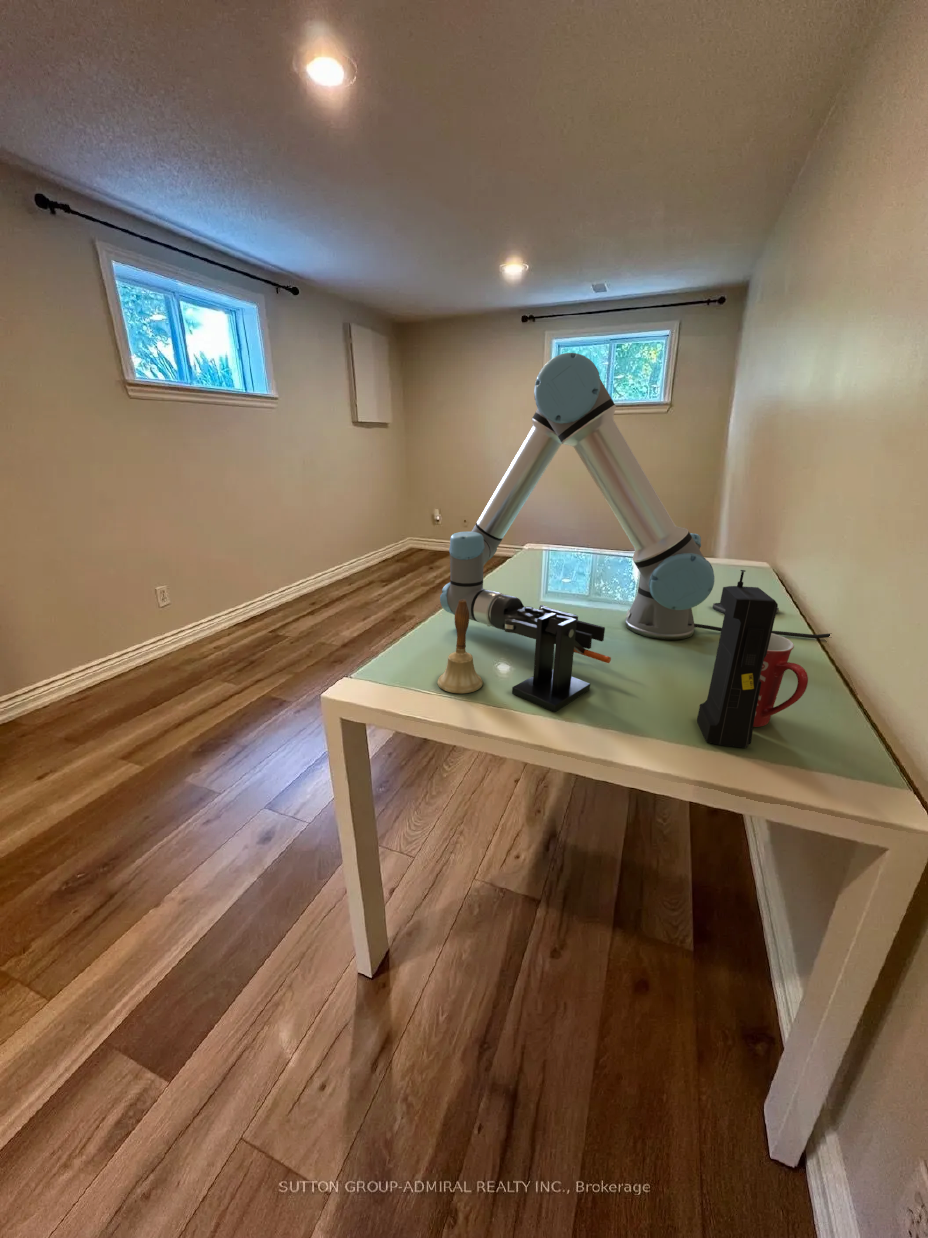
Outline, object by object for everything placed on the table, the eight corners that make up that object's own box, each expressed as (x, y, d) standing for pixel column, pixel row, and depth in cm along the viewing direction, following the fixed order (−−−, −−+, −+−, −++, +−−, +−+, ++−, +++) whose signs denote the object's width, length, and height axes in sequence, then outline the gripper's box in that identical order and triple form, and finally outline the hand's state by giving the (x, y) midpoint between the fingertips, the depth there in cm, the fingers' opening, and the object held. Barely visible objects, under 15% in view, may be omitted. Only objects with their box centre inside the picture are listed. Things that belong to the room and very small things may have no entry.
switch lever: (556, 649, 96) (561, 638, 96) (607, 667, 88) (613, 655, 89) (523, 623, 85) (529, 611, 85) (578, 641, 78) (584, 627, 78)
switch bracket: (548, 673, 94) (553, 605, 89) (589, 690, 88) (597, 617, 83) (511, 693, 86) (515, 620, 81) (554, 712, 80) (561, 634, 76)
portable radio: (753, 754, 70) (796, 586, 62) (708, 748, 71) (744, 583, 63) (736, 724, 77) (772, 570, 69) (695, 720, 78) (726, 568, 70)
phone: (711, 603, 132) (757, 599, 135) (710, 607, 132) (756, 603, 135) (732, 612, 124) (781, 608, 128) (732, 617, 125) (780, 612, 128)
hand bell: (472, 670, 95) (474, 591, 89) (489, 689, 87) (492, 604, 82) (431, 676, 92) (430, 595, 86) (445, 697, 85) (445, 610, 79)
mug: (699, 706, 83) (714, 631, 78) (741, 698, 85) (757, 625, 81) (763, 748, 71) (785, 664, 67) (809, 737, 74) (833, 656, 70)
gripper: (522, 617, 114) (616, 643, 99) (473, 637, 102) (571, 671, 87) (523, 586, 111) (620, 608, 96) (473, 603, 99) (574, 632, 84)
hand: (596, 638), depth 92 cm, fingers open, 4 cm apart
